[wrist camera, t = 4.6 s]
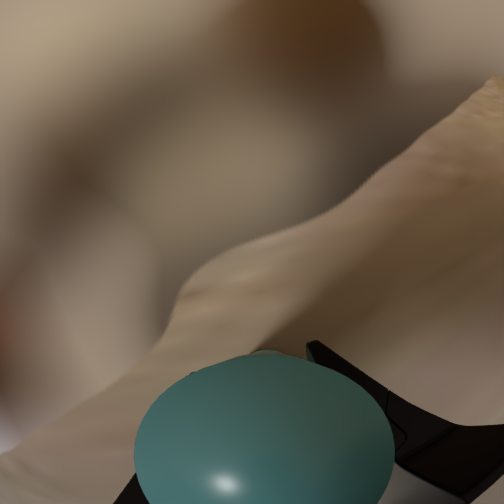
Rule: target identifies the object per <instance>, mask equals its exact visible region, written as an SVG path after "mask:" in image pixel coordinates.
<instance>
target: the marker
mask: <svg viewBox="0 0 504 504" xmlns="http://www.w3.org/2000/svg"><path fill="white" fill-rule="evenodd" d="M394 458H395V446H394V439H393V433H392V430H391V427H390V424H389V421H388V419H387V418H386V416H385V414H384V412H383V410H382V409H381V407H380V406H379V405H378V403H377V402H376V401H375V400H374V398H373V397H372V396H371V395H370V394H369V393H368V392H367V391H365V390H364V389H363V388H362V387H361V386H360V385H358V384H357V383H355V382H354V381H352V380H351V379H349V378H348V377H346V376H344V375H342V374H340V373H338V372H336V371H334V370H332V369H329V368H326V367H324V366H321V365H318V364H315V363H313V362H310V361H307V360H305V359H302V358H299V357H295V356H291V355H287V354H284V353H282V352H279V351H276V350H270V349H265V350H259V351H256V352H254V353H252V354H247V355H243V356H238V357H235V358H232V359H229V360H227V361H224V362H221V363H218V364H215V365H212V366H209V367H206V368H203V369H201V370H198V371H196V372H194V373H192V374H190V375H188V376H186V377H184V378H183V379H181V380H180V381H178V382H176V383H175V384H173V385H172V386H171V387H170V388H168V389H167V390H166V391H165V392H164V393H162V394H161V395H160V396H159V397H158V399H157V400H156V401H155V402H154V403H153V404H152V405H151V407H150V408H149V410H148V411H147V413H146V415H145V416H144V418H143V420H142V422H141V424H140V427H139V429H138V432H137V436H136V441H135V449H134V461H135V470H136V474H137V477H138V481H139V484H140V486H141V488H142V491H143V493H144V495H145V496H146V498H147V500H148V501H149V503H150V504H377V503H378V502H379V500H380V499H381V497H382V495H383V494H384V492H385V490H386V488H387V486H388V483H389V480H390V478H391V475H392V471H393V465H394Z"/></svg>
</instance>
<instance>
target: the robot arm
mask: <svg viewBox="0 0 504 504" xmlns="http://www.w3.org/2000/svg"><path fill="white" fill-rule="evenodd" d="M306 352H307V358H308V361H310V362H313V363H315V364H318V365H321V366H324V367H326V368H329V369H332V370H334V371H336V372H338V373H340V374H342V375H344V376H346V377H348V378H349V379H351V380H352V381H354V382H355V383H357V384H358V385H360V386H361V387H362V388H363V389H364V390H365V391H367V392H368V393H369V394H370V395H371V396H372V397H373V398H374V400H375V401H376V402H377V403H378V405H379V406H380V407H381V409H382V410H383V412H384V414H385V416H386V418H387V419H388V421H389V424H390V427H391V430H392V433H393V439H394V446H395V458H394V465H393V471H392V475H391V478H390V480H389V483H388V486H387V488H386V490H385V492H384V494H383V495H382V497H381V499H380V500H379V502H378V503H377V504H504V424H499V425H483V426H463V425H458V424H454V423H452V422H449V421H447V420H445V419H442V418H440V417H438V416H436V415H433V414H431V413H429V412H427V411H425V410H423V409H421V408H419V407H417V406H415V405H413V404H411V403H409V402H407V401H406V400H404V399H402V398H401V397H399V396H398V395H396V394H395V393H393V392H392V391H390V390H389V391H388V389H387V388H386V387H384V386H383V385H381V384H380V383H378V382H377V381H375V380H374V379H372V378H371V377H369V376H368V375H366V374H365V373H364V372H362V371H361V370H359V369H358V368H356V367H355V366H353V365H352V364H351V363H349V362H348V361H346V360H345V359H343V358H342V357H341V356H339V355H338V354H336V353H335V352H334V351H332V350H331V349H329V348H328V347H327V346H325V345H324V344H322V343H321V342H320V341H318V340H313V341H310V342H307V343H306ZM192 373H194V372H192ZM192 373H190V374H192ZM190 374H189V375H190ZM113 504H150V503H149V501H148V500H147V498H146V496H145V495H144V493H143V491H142V488H141V486H140V484H139V481H138V477H137V474H136V473H135V474H134V476H133V477H132V479H131V480H130V481H129V483H128V484H127V486H126V487H125V488H124V490H123V491H122V492H121V494H120V495H119V496H118V498H117V499H116V500H115V502H114V503H113Z"/></svg>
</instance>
